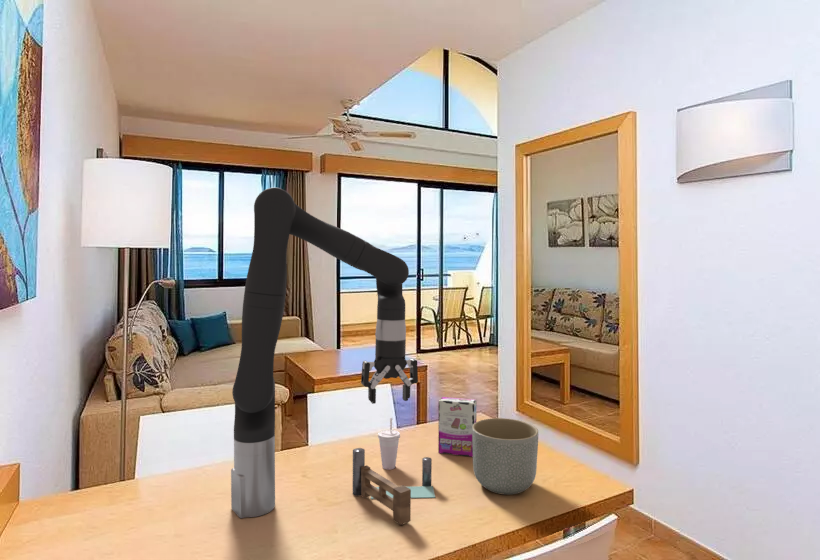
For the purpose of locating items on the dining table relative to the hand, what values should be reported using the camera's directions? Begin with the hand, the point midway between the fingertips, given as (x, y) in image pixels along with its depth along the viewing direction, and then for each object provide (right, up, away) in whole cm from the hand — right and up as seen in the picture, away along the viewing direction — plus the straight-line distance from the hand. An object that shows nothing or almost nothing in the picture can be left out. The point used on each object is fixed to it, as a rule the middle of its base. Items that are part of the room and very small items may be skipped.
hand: (389, 401), depth 126 cm
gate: (-1, -23, -8) cm, 24 cm away
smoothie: (-1, -23, +17) cm, 29 cm away
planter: (+30, -24, +6) cm, 38 cm away
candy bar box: (+20, -23, +28) cm, 41 cm away
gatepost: (-8, -23, +1) cm, 25 cm away
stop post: (+10, -23, +6) cm, 26 cm away
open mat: (+3, -23, +1) cm, 24 cm away
